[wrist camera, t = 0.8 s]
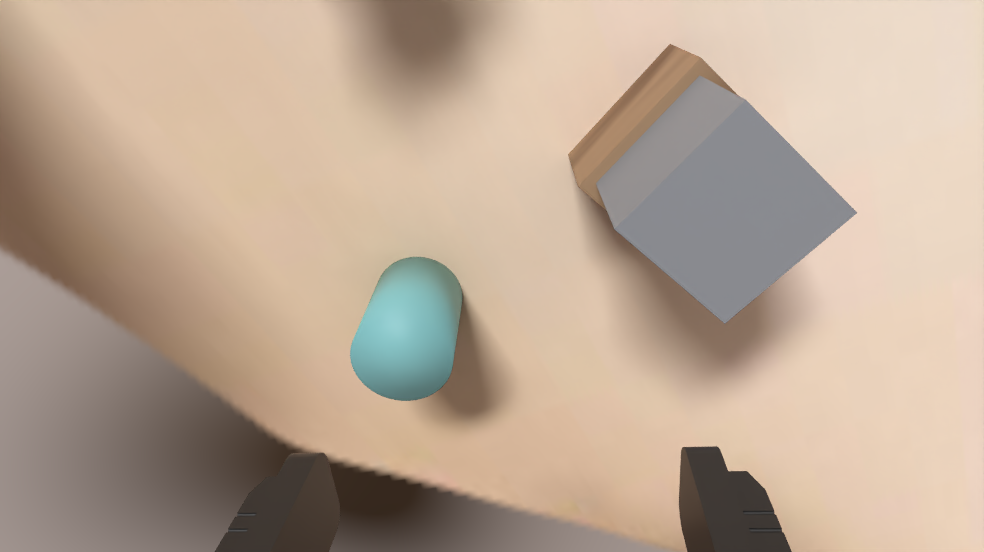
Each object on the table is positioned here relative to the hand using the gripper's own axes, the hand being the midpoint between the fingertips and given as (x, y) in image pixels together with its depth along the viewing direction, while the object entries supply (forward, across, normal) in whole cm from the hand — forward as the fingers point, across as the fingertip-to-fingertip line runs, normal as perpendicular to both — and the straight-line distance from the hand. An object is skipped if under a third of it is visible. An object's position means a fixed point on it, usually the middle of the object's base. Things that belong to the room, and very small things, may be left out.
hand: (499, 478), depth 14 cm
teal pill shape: (+18, +6, +4) cm, 20 cm away
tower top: (+14, -7, -2) cm, 16 cm away
